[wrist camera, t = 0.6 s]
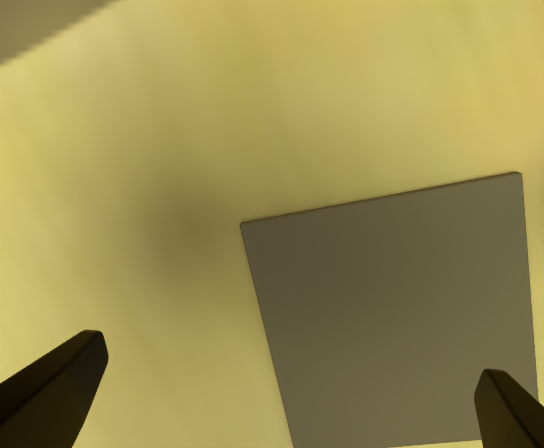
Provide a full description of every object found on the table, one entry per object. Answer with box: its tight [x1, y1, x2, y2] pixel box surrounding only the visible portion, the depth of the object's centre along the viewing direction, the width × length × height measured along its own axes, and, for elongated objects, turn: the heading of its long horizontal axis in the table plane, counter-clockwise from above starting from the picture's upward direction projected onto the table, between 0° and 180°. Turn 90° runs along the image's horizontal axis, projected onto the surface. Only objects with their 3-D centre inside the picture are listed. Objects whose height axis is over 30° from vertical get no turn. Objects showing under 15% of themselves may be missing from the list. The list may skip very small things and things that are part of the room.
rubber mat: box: [240, 172, 539, 448], centre depth 24 cm, size 16×15×1 cm
